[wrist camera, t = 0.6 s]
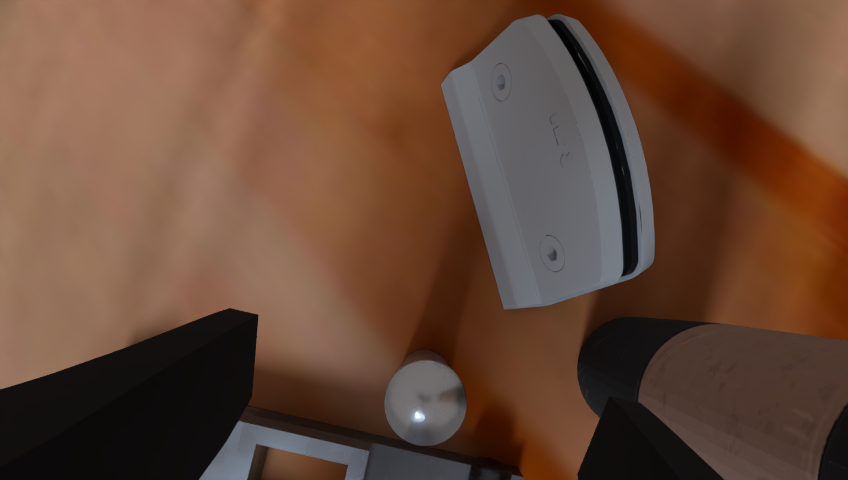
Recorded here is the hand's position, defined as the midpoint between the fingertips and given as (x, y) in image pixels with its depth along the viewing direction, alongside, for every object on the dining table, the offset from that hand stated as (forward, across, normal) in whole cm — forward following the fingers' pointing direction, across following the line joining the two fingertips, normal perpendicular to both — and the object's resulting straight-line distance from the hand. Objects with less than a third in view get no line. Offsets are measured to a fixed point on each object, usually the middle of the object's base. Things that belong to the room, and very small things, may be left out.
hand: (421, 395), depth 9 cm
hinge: (+23, -4, -1) cm, 23 cm away
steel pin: (+17, -1, +11) cm, 20 cm away
